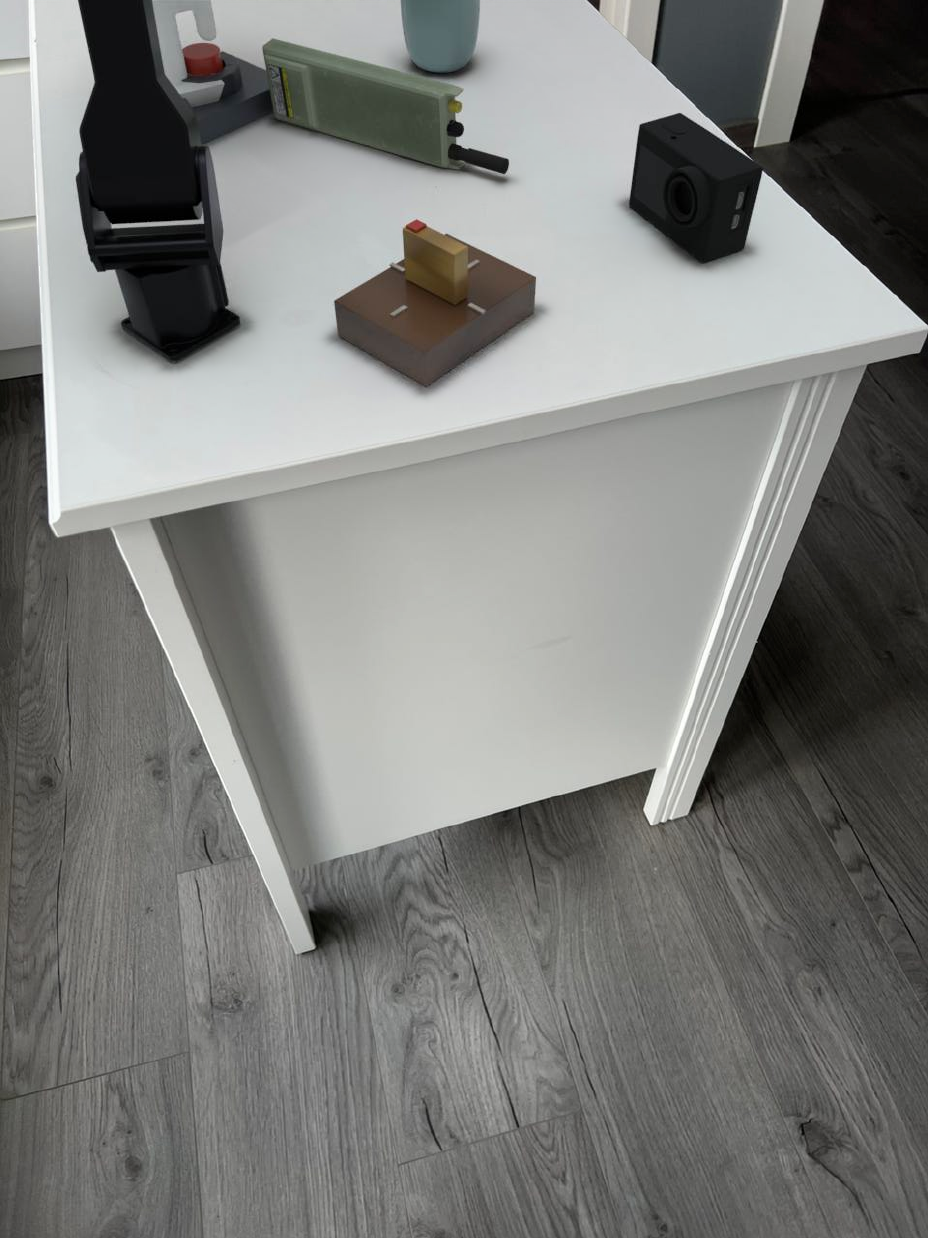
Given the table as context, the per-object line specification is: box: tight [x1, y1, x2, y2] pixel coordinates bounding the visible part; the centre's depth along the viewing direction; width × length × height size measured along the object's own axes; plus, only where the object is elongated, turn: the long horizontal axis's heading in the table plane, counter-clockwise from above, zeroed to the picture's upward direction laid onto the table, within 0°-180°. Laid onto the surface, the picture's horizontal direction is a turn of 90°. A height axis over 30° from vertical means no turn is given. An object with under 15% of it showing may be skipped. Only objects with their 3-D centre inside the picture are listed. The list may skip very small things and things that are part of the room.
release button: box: [182, 42, 223, 76], centre depth 93 cm, size 4×4×2 cm
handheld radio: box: [261, 37, 510, 175], centre depth 89 cm, size 7×3×25 cm
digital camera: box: [628, 112, 764, 264], centre depth 80 cm, size 10×5×7 cm, turn 29°
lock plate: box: [333, 233, 537, 387], centre depth 74 cm, size 12×9×3 cm
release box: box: [181, 50, 274, 146], centre depth 95 cm, size 12×10×4 cm
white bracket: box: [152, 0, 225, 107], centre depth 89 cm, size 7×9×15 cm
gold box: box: [402, 218, 468, 305], centre depth 71 cm, size 5×1×4 cm, turn 47°
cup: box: [400, 0, 481, 74], centre depth 99 cm, size 8×8×10 cm
